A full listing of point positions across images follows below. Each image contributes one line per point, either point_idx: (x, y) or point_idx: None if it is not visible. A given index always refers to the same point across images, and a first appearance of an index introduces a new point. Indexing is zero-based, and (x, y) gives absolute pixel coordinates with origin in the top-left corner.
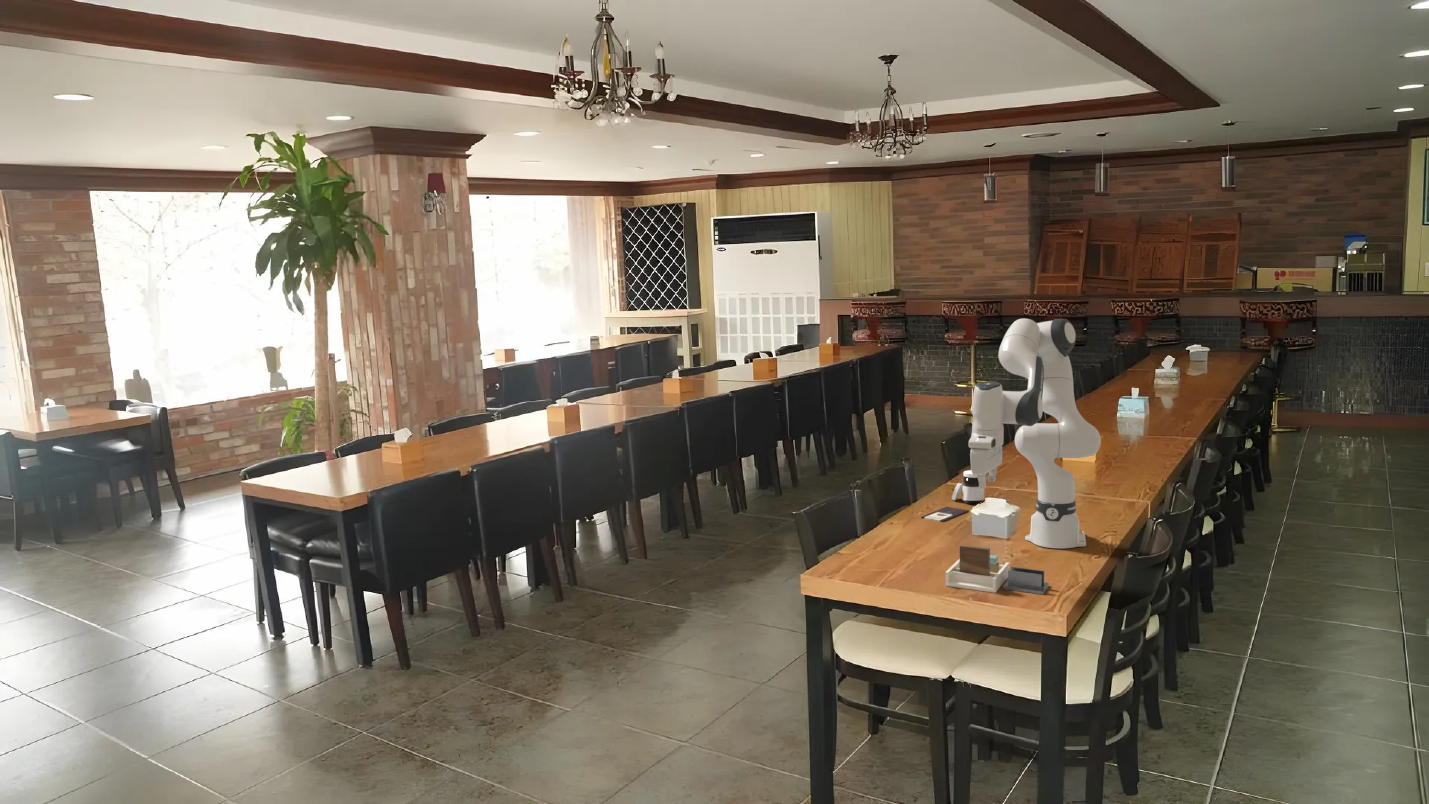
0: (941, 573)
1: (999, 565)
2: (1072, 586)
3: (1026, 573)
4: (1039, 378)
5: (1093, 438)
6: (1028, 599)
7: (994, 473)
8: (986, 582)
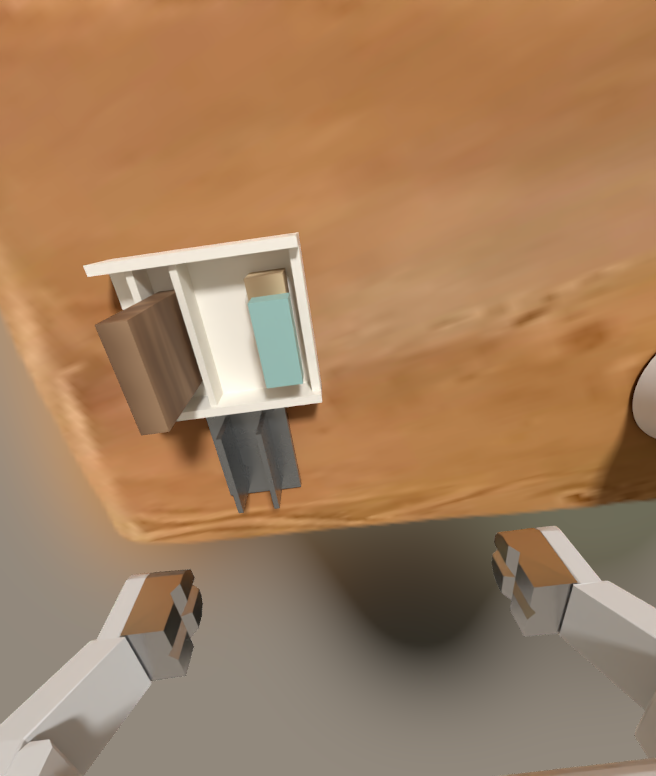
0: (216, 184)
1: (309, 372)
2: (327, 516)
3: (229, 482)
4: None
5: None
6: (178, 477)
7: (598, 657)
8: None
